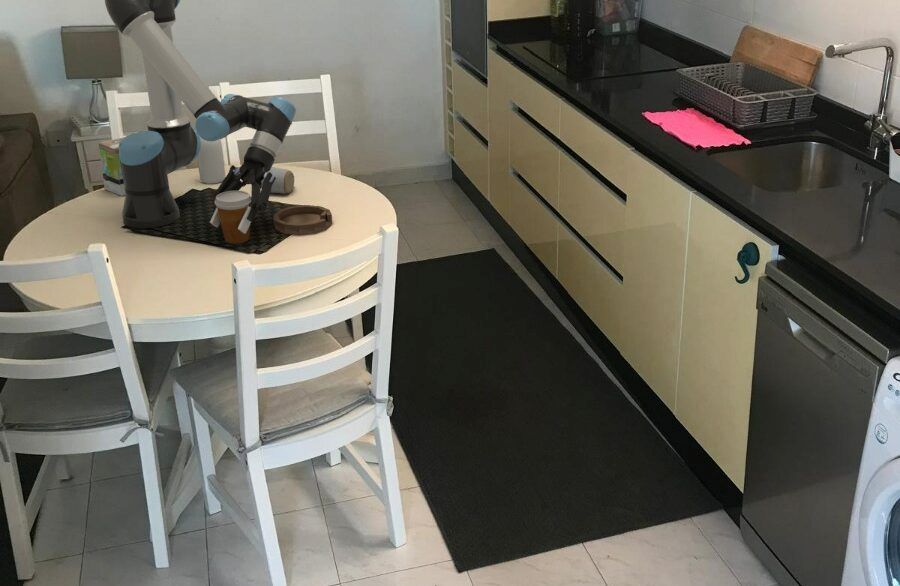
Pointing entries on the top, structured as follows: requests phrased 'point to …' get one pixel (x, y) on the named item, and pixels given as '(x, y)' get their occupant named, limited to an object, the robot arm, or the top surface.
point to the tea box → (112, 166)
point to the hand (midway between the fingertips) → (227, 228)
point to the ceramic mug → (282, 180)
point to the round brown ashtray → (302, 220)
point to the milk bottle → (211, 162)
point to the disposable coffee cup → (233, 214)
